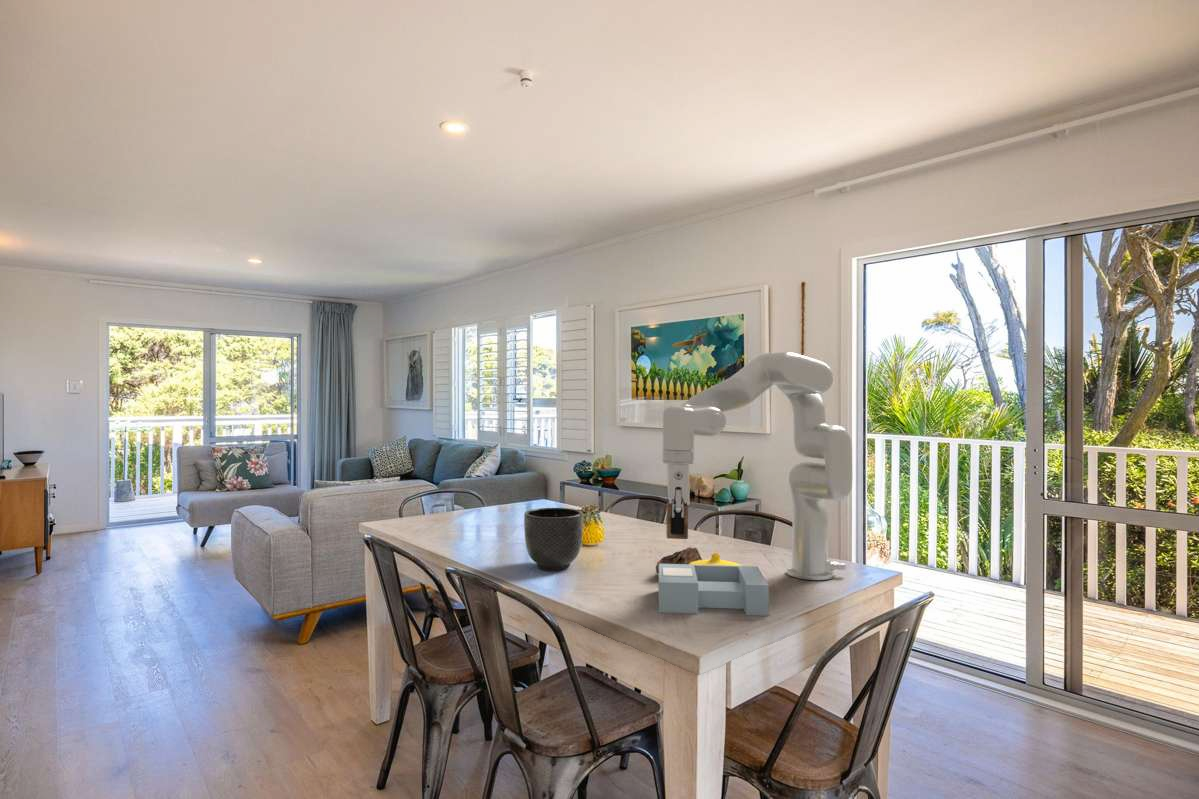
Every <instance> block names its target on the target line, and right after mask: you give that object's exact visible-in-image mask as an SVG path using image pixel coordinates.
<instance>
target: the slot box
mask: <svg viewBox="0 0 1199 799" xmlns="http://www.w3.org/2000/svg"><path fill="white" fill-rule="evenodd" d="M769 590H770V585H769V583H768V581H767V580H766V579H765V577H764V575H763V573H762V572H761V570H760V568H759V567H758V566H757V565H741V566H730V565H692V564H659V574H658V612H659V613H666V614H667V613H670V614H675V613H676V614H699V608H705V609H707V608H708V609H738V610H739V609H741V610H743V611H744V613H745V615H746V616H760V617H761V616H762V617H763V616H764V617H767V616H769V615H770V614H769V612H770V610H769V609H770V608H769V605H770V603H769V602H770V600H769V599H770V598H769V597H770V596H769V595H770V594H769V593H770V591H769Z"/></svg>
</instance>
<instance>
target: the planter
mask: <svg viewBox="0 0 1199 799" xmlns="http://www.w3.org/2000/svg"><path fill="white" fill-rule="evenodd" d="M523 517H524V518H523V520H524V521H523V523H524V524H523V525H524V526H523V527H524V528H523V529H524V542H525V547H526V548H525V549H526V551H527V554H528V556H529V558H530V559H531V560H532V561H533V562H534V563H535V564H536V566H537V568H539V569H540V570H542V571H548V572H550V571H551V572H554V571H555V572H556V571H557V572H558V571H564V570H566V569H569V567H570V566H571V563H572V562H574V561H575V560H576V558H577V557H578V556H579V553H580V550H581V548H582V542H583V530H584V513H583V511H581V510H579V509H575V508H571V507H570V508H567V507H542V508H541V507H540V508H534V509H530V510H526V511H525V512H524V516H523Z"/></svg>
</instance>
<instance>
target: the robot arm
mask: <svg viewBox="0 0 1199 799" xmlns="http://www.w3.org/2000/svg"><path fill="white" fill-rule="evenodd" d="M833 382H834V374H833V371H832V369H831V368H830V366H828V364H827V363H825V362H823V361H821V360H817V359H815V358H811V357H809V356H805V355H801V354H799V353H795V352H792V351H780V352H766V353H761V354H760V355H757V356H756V357H755V358H753V359H752V360H751V361H750V362H748V363H747V364H746V365H744V366H743V367H742V368H741V369H739V370H738V371H737V372H736V373H734V374H733V375H732V376H730V377H729V378H727V379H725V380H722V381H721V382H720V381H719V383H716V384H714V385H712V386H709V387H708V388H706V389H703V390H701V391H699V392H698V393H696V394H694V395H693V396H692V397H690V398H689V399H688V400H687V401H685V402H684V403H682V404H681V406H668V407H665V408H664V410H663V414H662V418H663V419H662V464H667V471H666V473H667V482H666V483H667V496H668V502H669V503H670V504H671V505H672V517H671V534H682V535H683V534H684V503H685V504H687V505H688V506H689V505H690V500H691V499H690V497H691V496H690V494H691V493H690V491H691V490H690V488H691V486H690V485H691V483H690V482H691V481H690V478H691V476H690V475H691V474H690V465H693V464H694V459H695V458H694V455H695V454H694V452H695V451H694V449H695V436H700V437H714V436H717V435H719V434H721V432H723V430H724V429H725V428H726V424H727V418H726V416H725V413H724V412H727V411H732V410H736V409H740V408H743V407H746V406H749V405H750V404H752V403H753V402H755V400H756V399H757V398H759V397H760V396H761V395H763V394H764V393H765V392H766V391H768V390H769V389H770V388H771V387H772V386H775V385H776V387H777V388H778V390H780V391H781V392H782V393H783V394H784V395H785V396H786V397H787V399H788V400H789V402H790V403H791V406H792V411H793V442H794V444H793V445H794V449H795V451H796V454H798V456H802V457H804V458H809V459H818V460H824V463H820V462H819V463H818V462H813V461H812V462H810V461H806V462H805V461H804V462H799V463H797V464H796V465H795V464H794V466H793V467H792V468H791V469H790V472H789V475H788V481H789V482H788V483H789V488H790V489H789V490H790V494H791V501H792V503H791V504H792V535H791V536H792V537H791V538H792V544H791V545H792V546H791V547H792V550H791V551H792V552H791V553H792V554H791V555H792V556H791V558H792V559H791V563H792V564H791V565H790V566H788V567H787V568H786V574H787V575H788V576H789V577H792V578H797V579H800V580H805V581H806V580H807V581H828V580H830V579H833V578H834V570H838V571H846V570H847V569H846V568H847V565H846V563H845V562H838V561H831V560H830V559H829V554H828V552H829V546H828V545H829V512H828V507H827V505H826V503H825V500H828V501H837V502H838V501H839V502H840V501H843V500H845V499H846V498H848V497H849V496H850V493H851V492H852V488H853V487H852V486H853V442H852V439H851V436H850V434H849V432H848V430H846V429H845V428H844V427H843V426H839V425H837V424H836V425H835V424H827V422H826V407H825V403H824V399H823V398H822V396H821V394H824V393H826V392H827V391H829V390H830V388H832V385H833ZM674 502H676V504H674ZM681 503H682V504H681ZM674 507H676V508H674Z"/></svg>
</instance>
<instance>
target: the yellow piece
mask: <svg viewBox="0 0 1199 799" xmlns="http://www.w3.org/2000/svg"><path fill="white" fill-rule="evenodd" d="M690 564H692V565H730V566H742V565H741V564H740V563H739V562H738V563H737V562H735V561H729V560H725V559H721V553H718V552H713V553H711V558H709V559H702V560H698V561H694V562H691V563H690Z"/></svg>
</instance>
